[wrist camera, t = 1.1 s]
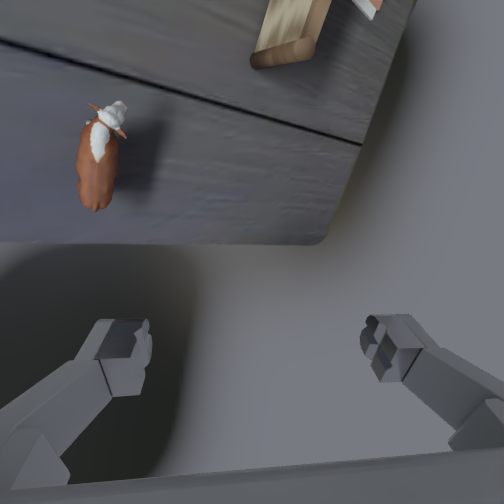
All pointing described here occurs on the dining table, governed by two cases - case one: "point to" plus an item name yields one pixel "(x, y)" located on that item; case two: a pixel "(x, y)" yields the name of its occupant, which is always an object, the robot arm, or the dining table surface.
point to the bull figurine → (99, 156)
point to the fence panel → (289, 32)
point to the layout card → (368, 7)
